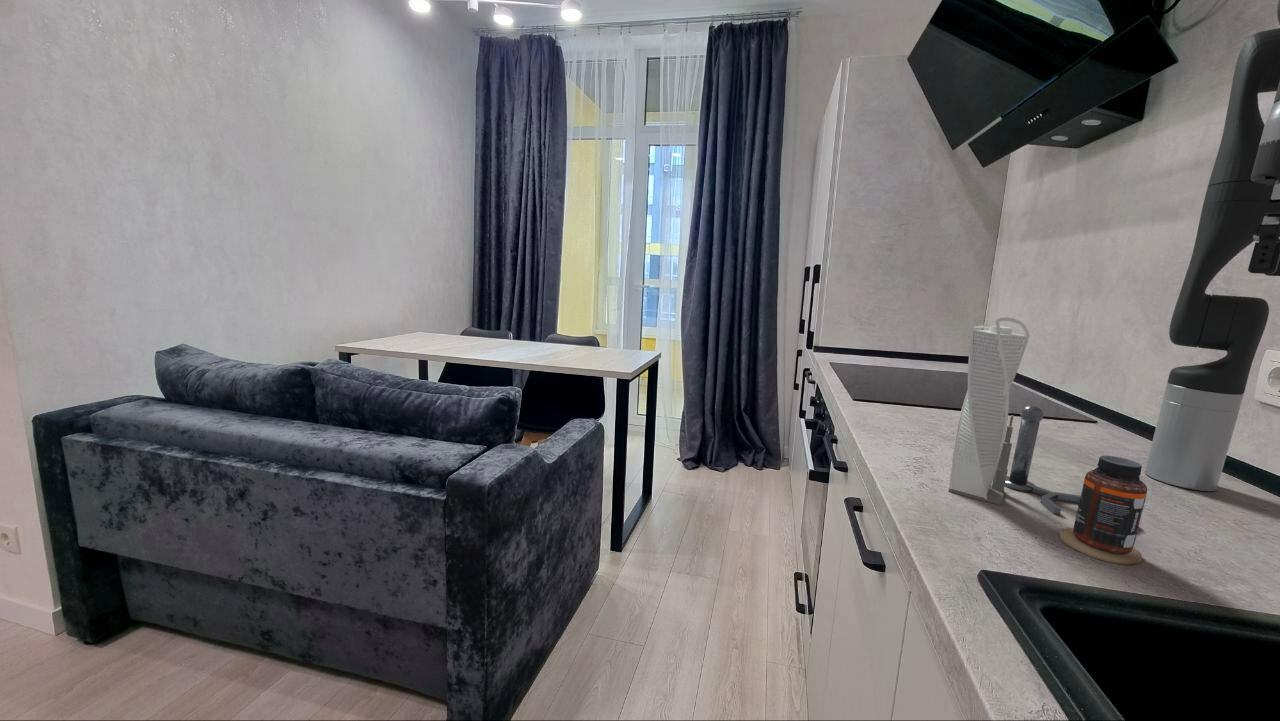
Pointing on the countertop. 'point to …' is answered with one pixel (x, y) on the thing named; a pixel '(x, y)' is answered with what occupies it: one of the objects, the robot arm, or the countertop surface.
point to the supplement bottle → (1111, 505)
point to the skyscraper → (987, 413)
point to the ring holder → (1024, 457)
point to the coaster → (1117, 558)
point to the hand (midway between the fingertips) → (1268, 274)
